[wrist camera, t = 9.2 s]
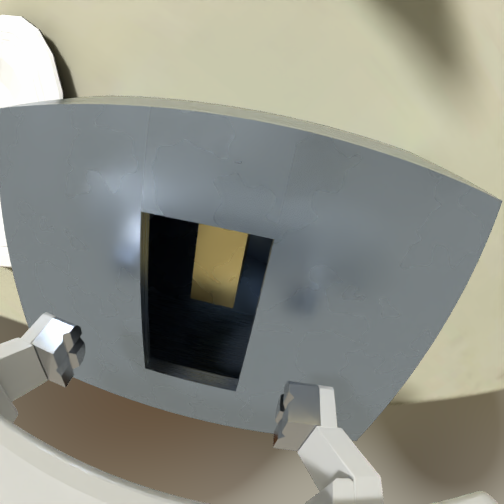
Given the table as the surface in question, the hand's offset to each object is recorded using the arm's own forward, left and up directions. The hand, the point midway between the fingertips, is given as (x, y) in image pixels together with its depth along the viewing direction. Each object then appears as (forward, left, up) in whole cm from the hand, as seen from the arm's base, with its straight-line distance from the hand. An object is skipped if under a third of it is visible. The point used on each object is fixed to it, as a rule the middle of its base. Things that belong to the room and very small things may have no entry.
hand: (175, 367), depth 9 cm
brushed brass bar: (0, 0, -12) cm, 12 cm away
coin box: (0, 0, -13) cm, 13 cm away
